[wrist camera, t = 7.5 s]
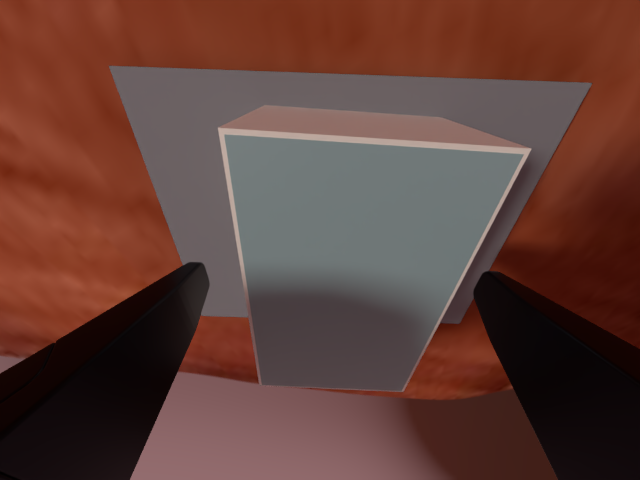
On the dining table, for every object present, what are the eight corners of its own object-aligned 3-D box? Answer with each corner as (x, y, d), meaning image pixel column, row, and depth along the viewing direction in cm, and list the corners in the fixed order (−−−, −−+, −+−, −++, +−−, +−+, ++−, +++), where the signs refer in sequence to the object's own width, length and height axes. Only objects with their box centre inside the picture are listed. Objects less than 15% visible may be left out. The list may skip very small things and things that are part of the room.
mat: (580, 82, 7) (592, 83, 7) (456, 317, 14) (459, 323, 13) (118, 66, 7) (108, 65, 7) (204, 309, 13) (201, 315, 13)
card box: (382, 309, 13) (403, 392, 9) (276, 303, 12) (259, 386, 9) (440, 117, 8) (532, 149, 4) (264, 105, 7) (217, 128, 4)
